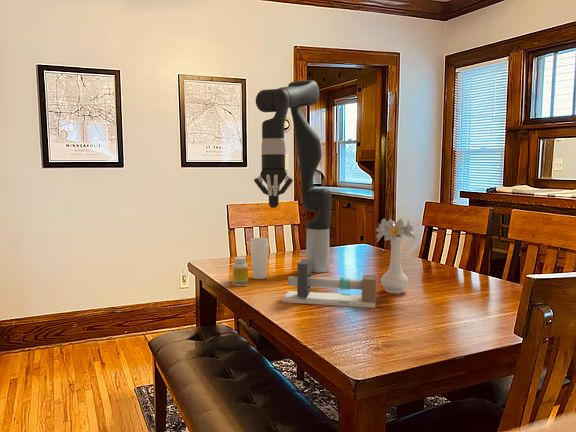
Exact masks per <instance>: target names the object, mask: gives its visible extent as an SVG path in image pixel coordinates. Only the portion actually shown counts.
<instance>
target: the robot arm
mask: <svg viewBox="0 0 576 432" xmlns="http://www.w3.org/2000/svg"><path fill="white" fill-rule="evenodd" d="M319 100H320V88H319V85H318V83H317V82H316V81H315V80H311V79H307V80H306V79H305V80H297V81H291V82H290V83H288V86H283V87H278V88H275V89H274V88H272V89H262V90H259V92H258V93H257V94H256V97H255V106H256V107H257V109H258V110H259V111H260V112H262V113H274V116H273V117H272V118H269V119H266V120H264V121H263V122H262V123H261V139H262V140H261V146H260V147H261V171H260V175H259V176H257V178H254V179H253V181H254V183H255V184H256V185H257V187H258V188H259V189H260V191H261V192H262V193H263V194H264V195H266V196H268V205H269V207H270V208H271V209H275V208H278V206H279V205H280V204H279V203H280V202H279V200H280V199H279V198H280V195H283V194H285V193H286V191H287V190H288V188H289V187H290V186H291V184H292V183H293V182H294V179H293V178H291V177H290V176H289V175H288V174H287V173H288V172H287V171H286V143H285V124H286V119H287V115H288V110H289V109H290V113H291V117H292V122H293V127H294V135H295V141H296V142H295V144H296V152H297V158H298V165H299V171H300V181H301V198H302V199H301V200H302V205H303V208H304V209H305V210H306V211H309V212H318V214H317V216H316V217H315V218H312V219H310V220H307V221H306V246H305V247H306V251H305V253H306V256H305V257H306V258H305V259H309V260H311V273H327V272H329V271H330V224H331V220H332V204H333V203H332V202H333V200H332V199H333V198H332V193H331V191H330V189H328V188H315V186H314V175H315V173H316V170H317V169H318V166H319V164H320V162H321V159H322V147H321V145H322V144H321V140H320V137H319V136H318V134H317V133H316V131H315V130H314V129H313V127H312V126H311V125H310V124H309V122H308V120H307V119H306V117H305V115H304V112H303V109H302V107H307V106H314V105H315V104H317V103H318V102H319ZM263 181H264V183H265V184H266V185H267V187H266V185H264V183H263ZM283 182H284V184H283V186H282V187H281V184H282V183H283Z"/></svg>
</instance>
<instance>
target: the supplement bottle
mask: <svg viewBox="0 0 576 432" xmlns="http://www.w3.org/2000/svg"><path fill="white" fill-rule="evenodd" d="M246 262H247V258H246V257H243V256H239V257H234V263H233V265H232V285H233V286H235V287H244V286H248V284H249V276H248V275H249V266H248V263H246Z"/></svg>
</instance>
